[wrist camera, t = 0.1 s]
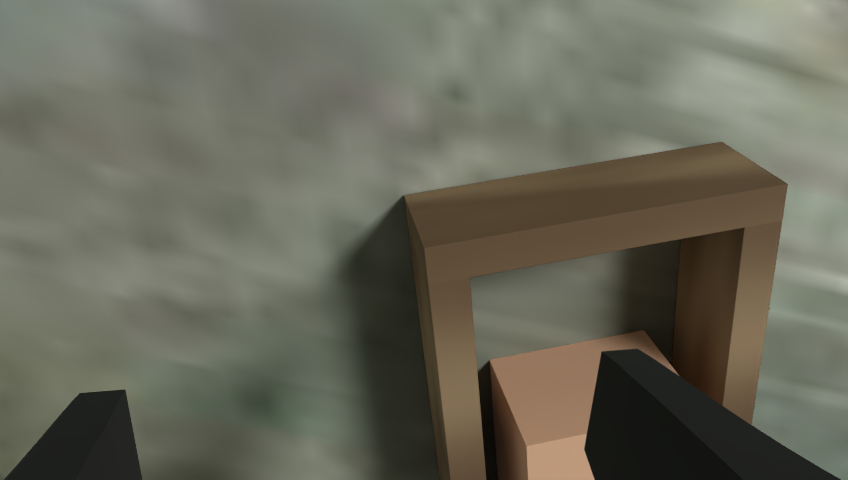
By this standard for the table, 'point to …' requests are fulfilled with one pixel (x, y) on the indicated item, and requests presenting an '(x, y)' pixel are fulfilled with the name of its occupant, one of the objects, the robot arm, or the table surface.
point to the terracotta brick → (551, 406)
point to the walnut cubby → (594, 234)
